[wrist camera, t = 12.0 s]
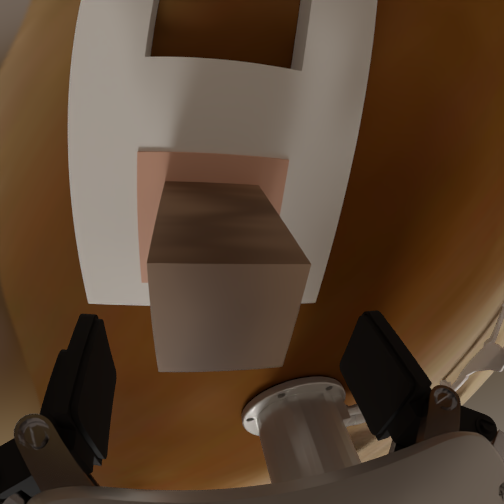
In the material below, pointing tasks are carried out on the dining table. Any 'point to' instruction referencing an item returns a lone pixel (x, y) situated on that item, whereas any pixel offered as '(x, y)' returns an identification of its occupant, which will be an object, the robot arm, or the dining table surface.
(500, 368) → the llama figurine
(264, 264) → the walnut block
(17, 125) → the dining table surface
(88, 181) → the pocket board
